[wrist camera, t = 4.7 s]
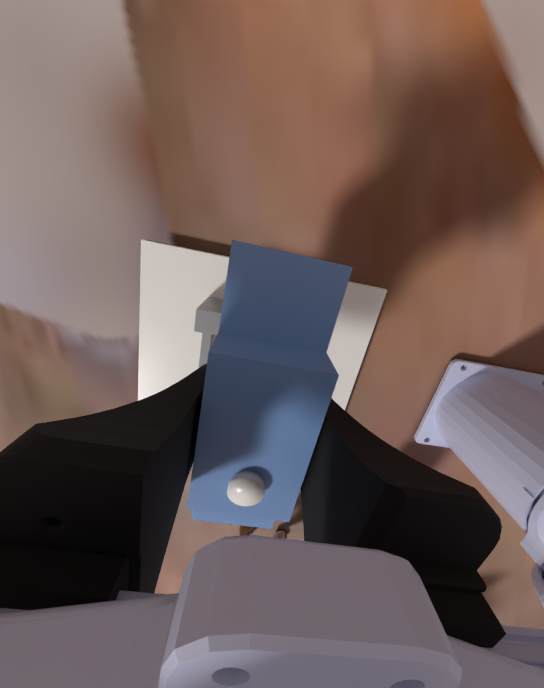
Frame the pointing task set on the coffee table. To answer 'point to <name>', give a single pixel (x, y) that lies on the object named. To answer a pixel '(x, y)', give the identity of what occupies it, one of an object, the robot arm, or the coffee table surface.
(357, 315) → the pocket plate
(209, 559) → the robot arm
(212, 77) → the coffee table surface
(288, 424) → the block
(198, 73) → the coffee table surface
